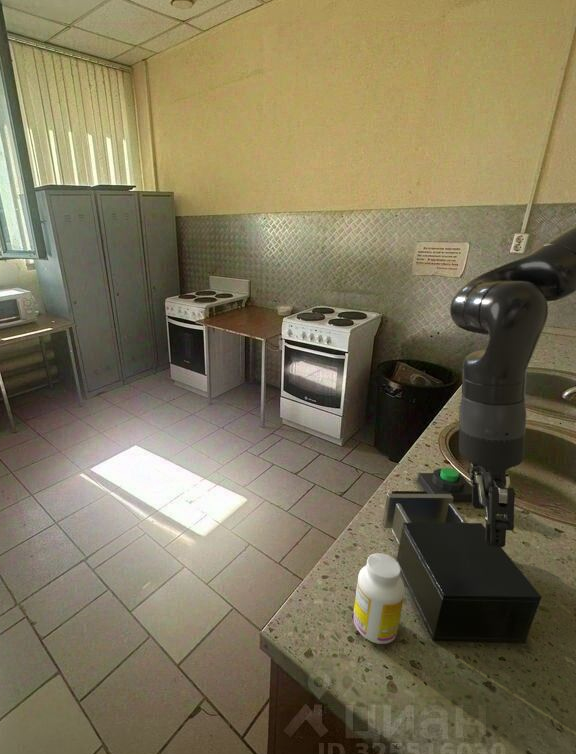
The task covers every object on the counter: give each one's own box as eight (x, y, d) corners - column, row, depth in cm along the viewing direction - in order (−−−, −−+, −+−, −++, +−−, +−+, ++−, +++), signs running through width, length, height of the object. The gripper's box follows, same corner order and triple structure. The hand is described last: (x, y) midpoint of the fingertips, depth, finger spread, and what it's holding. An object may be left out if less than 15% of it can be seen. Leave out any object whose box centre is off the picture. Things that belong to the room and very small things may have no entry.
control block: (458, 480, 97) (461, 466, 96) (477, 502, 90) (480, 487, 88) (417, 480, 98) (419, 466, 96) (432, 501, 90) (435, 487, 89)
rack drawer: (375, 510, 87) (380, 480, 84) (434, 511, 86) (440, 481, 83) (409, 579, 70) (416, 545, 67) (482, 580, 70) (492, 546, 67)
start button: (452, 473, 94) (453, 467, 94) (460, 482, 91) (462, 476, 90) (437, 473, 94) (438, 467, 94) (444, 482, 91) (445, 476, 90)
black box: (395, 563, 75) (403, 522, 71) (470, 564, 74) (481, 522, 71) (432, 641, 61) (443, 595, 57) (525, 643, 60) (542, 596, 57)
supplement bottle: (400, 619, 64) (412, 559, 60) (391, 654, 59) (404, 592, 55) (359, 599, 68) (367, 541, 63) (347, 631, 63) (355, 570, 58)
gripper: (544, 452, 47) (535, 564, 51) (508, 406, 59) (503, 499, 64) (470, 449, 50) (467, 555, 54) (451, 406, 62) (450, 495, 66)
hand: (487, 525), depth 59 cm, fingers open, 8 cm apart
